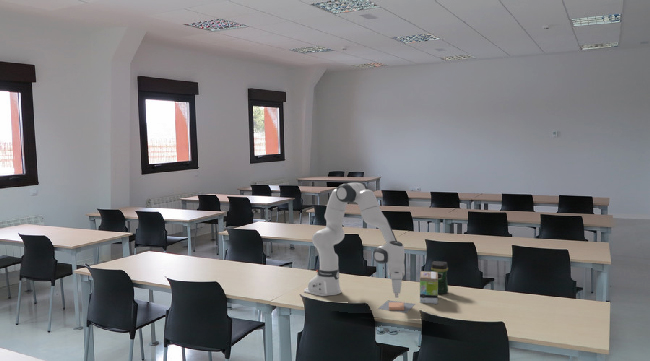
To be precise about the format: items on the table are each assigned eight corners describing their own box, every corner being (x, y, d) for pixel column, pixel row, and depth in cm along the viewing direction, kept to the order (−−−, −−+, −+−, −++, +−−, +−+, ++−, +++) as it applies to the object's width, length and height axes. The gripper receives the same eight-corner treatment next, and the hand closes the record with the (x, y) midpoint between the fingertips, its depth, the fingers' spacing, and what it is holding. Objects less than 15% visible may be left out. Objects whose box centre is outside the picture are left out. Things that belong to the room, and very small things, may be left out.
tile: (388, 302, 284) (388, 306, 276) (403, 302, 283) (404, 307, 275) (388, 305, 284) (388, 310, 276) (403, 305, 283) (404, 310, 275)
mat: (377, 309, 279) (377, 308, 279) (388, 301, 293) (388, 300, 293) (406, 314, 272) (406, 312, 271) (415, 305, 286) (415, 303, 286)
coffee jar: (449, 291, 309) (449, 260, 308) (446, 295, 302) (446, 263, 300) (433, 289, 313) (433, 259, 312) (429, 293, 306) (429, 262, 305)
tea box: (438, 304, 286) (438, 278, 285) (419, 303, 288) (419, 277, 287) (437, 296, 301) (437, 271, 300) (420, 295, 303) (420, 270, 302)
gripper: (390, 266, 290) (390, 291, 291) (390, 276, 270) (390, 302, 271) (401, 266, 289) (402, 291, 290) (402, 276, 269) (402, 302, 270)
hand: (396, 296), depth 280 cm, fingers closed
